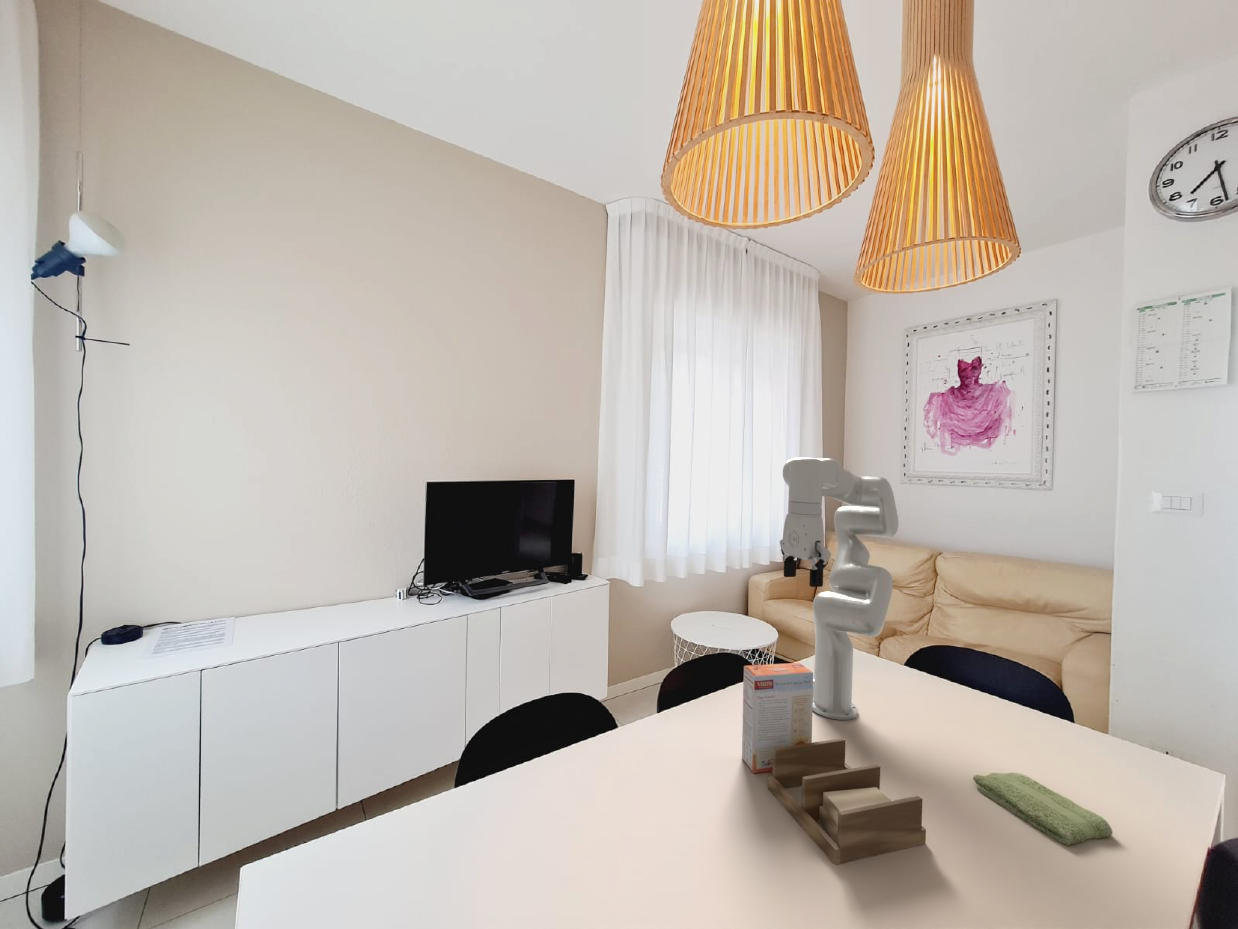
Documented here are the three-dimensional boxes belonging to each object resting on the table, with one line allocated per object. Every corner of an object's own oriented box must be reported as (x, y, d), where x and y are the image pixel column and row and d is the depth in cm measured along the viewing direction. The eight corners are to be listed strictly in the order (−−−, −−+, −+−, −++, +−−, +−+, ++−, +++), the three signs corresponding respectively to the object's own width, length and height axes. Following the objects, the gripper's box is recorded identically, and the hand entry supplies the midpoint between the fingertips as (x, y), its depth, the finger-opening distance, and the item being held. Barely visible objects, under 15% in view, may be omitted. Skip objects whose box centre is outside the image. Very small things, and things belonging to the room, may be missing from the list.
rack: (767, 788, 97) (769, 749, 97) (845, 775, 103) (846, 737, 103) (834, 865, 79) (836, 816, 79) (925, 843, 84) (927, 798, 84)
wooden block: (818, 821, 89) (819, 788, 89) (879, 819, 90) (880, 787, 90) (837, 849, 83) (838, 814, 83) (903, 846, 84) (904, 812, 84)
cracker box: (796, 752, 110) (799, 661, 111) (812, 768, 104) (815, 672, 105) (739, 757, 108) (743, 663, 108) (752, 774, 102) (755, 675, 102)
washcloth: (1014, 778, 104) (1015, 763, 104) (1117, 840, 87) (1117, 822, 87) (967, 786, 101) (968, 771, 101) (1065, 852, 84) (1065, 834, 84)
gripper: (770, 506, 122) (767, 573, 122) (815, 513, 105) (813, 591, 105) (795, 506, 124) (793, 573, 124) (844, 513, 107) (841, 590, 107)
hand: (802, 581), depth 115 cm, fingers open, 9 cm apart
